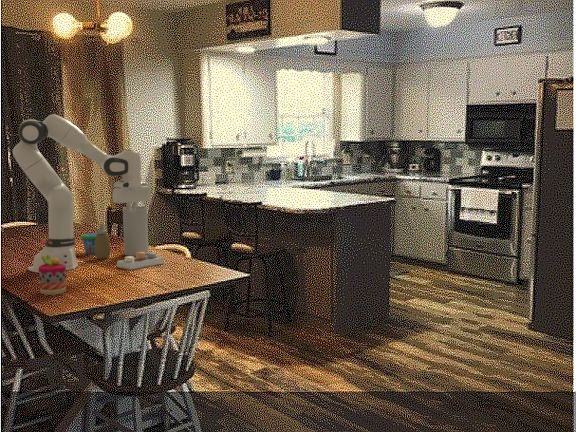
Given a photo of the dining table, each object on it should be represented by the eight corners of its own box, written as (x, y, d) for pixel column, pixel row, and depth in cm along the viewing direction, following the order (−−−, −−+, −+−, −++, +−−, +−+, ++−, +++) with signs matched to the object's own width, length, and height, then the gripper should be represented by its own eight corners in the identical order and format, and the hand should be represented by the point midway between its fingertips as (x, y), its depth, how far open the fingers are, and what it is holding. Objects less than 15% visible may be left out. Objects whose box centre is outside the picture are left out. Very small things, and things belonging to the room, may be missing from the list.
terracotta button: (139, 259, 305) (139, 253, 304) (134, 258, 308) (133, 252, 307) (147, 258, 308) (146, 252, 308) (141, 257, 311) (141, 251, 311)
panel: (129, 270, 297) (129, 263, 297) (117, 267, 304) (117, 260, 303) (163, 263, 313) (163, 257, 312) (150, 260, 319) (150, 255, 319)
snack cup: (77, 252, 340) (76, 233, 339) (96, 250, 347) (95, 231, 346) (88, 256, 328) (88, 237, 327) (108, 254, 335) (107, 235, 334)
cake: (70, 289, 260) (69, 253, 258) (62, 295, 250) (60, 258, 248) (44, 289, 260) (43, 253, 258) (35, 295, 249) (33, 258, 247)
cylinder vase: (134, 257, 328) (133, 209, 324) (119, 254, 335) (117, 207, 332) (153, 254, 338) (152, 207, 334) (137, 251, 345) (136, 205, 342)
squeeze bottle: (106, 260, 320) (105, 224, 318) (91, 259, 322) (90, 224, 320) (113, 257, 328) (112, 222, 326) (99, 256, 330) (98, 222, 328)
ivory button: (128, 264, 300) (128, 258, 300) (122, 263, 303) (122, 257, 302) (136, 263, 303) (136, 257, 303) (130, 261, 306) (130, 255, 306)
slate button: (150, 260, 310) (150, 254, 310) (145, 259, 313) (144, 253, 312) (157, 259, 313) (157, 253, 313) (152, 258, 316) (152, 252, 316)
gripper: (145, 181, 318) (145, 209, 320) (110, 183, 303) (111, 212, 305) (153, 182, 314) (153, 210, 316) (118, 184, 299) (118, 213, 301)
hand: (132, 211), depth 310 cm, fingers closed
